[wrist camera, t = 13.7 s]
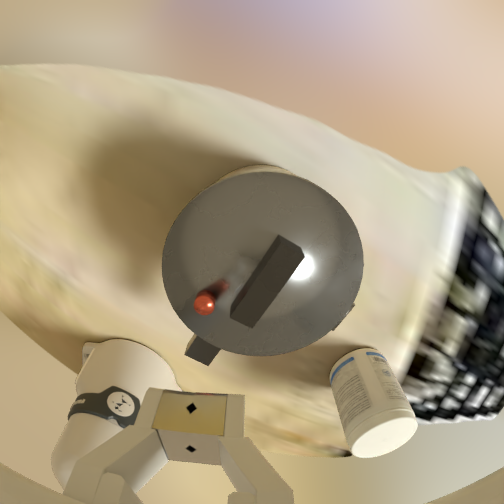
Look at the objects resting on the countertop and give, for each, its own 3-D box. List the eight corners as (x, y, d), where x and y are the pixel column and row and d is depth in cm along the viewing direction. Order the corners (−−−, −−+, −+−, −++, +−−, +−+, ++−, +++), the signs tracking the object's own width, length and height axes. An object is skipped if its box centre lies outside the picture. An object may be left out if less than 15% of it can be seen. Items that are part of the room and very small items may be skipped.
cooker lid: (292, 370, 28) (295, 392, 26) (138, 298, 25) (127, 316, 22) (397, 242, 24) (413, 256, 21) (227, 129, 20) (224, 128, 17)
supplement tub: (333, 395, 45) (351, 466, 31) (323, 357, 42) (343, 436, 28) (387, 376, 44) (416, 442, 30) (383, 336, 41) (421, 407, 27)
